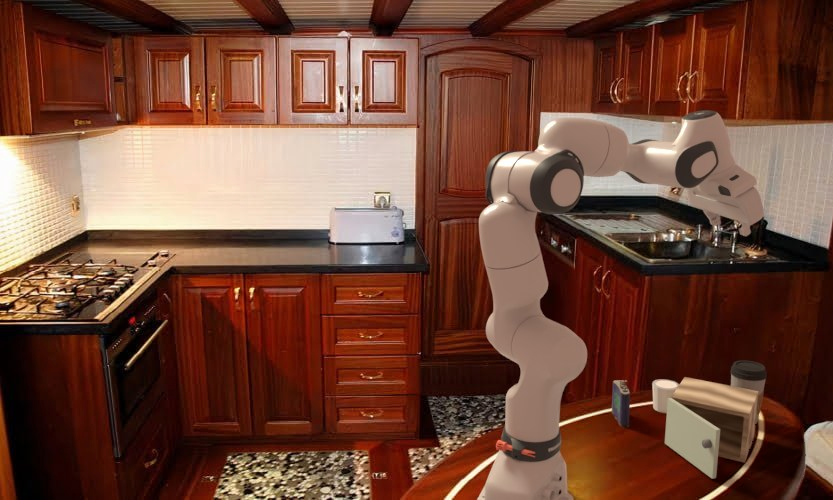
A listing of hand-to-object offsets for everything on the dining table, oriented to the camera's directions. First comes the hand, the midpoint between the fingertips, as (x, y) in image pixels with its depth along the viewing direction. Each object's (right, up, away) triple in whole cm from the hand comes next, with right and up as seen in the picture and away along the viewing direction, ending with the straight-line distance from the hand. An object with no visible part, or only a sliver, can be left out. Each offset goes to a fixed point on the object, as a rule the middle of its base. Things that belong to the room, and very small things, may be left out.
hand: (730, 229), depth 164 cm
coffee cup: (+11, -49, +16) cm, 52 cm away
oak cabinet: (-2, -51, +7) cm, 51 cm away
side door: (-11, -53, -3) cm, 54 cm away
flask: (-20, -49, +19) cm, 56 cm away
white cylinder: (-7, -47, +24) cm, 53 cm away
